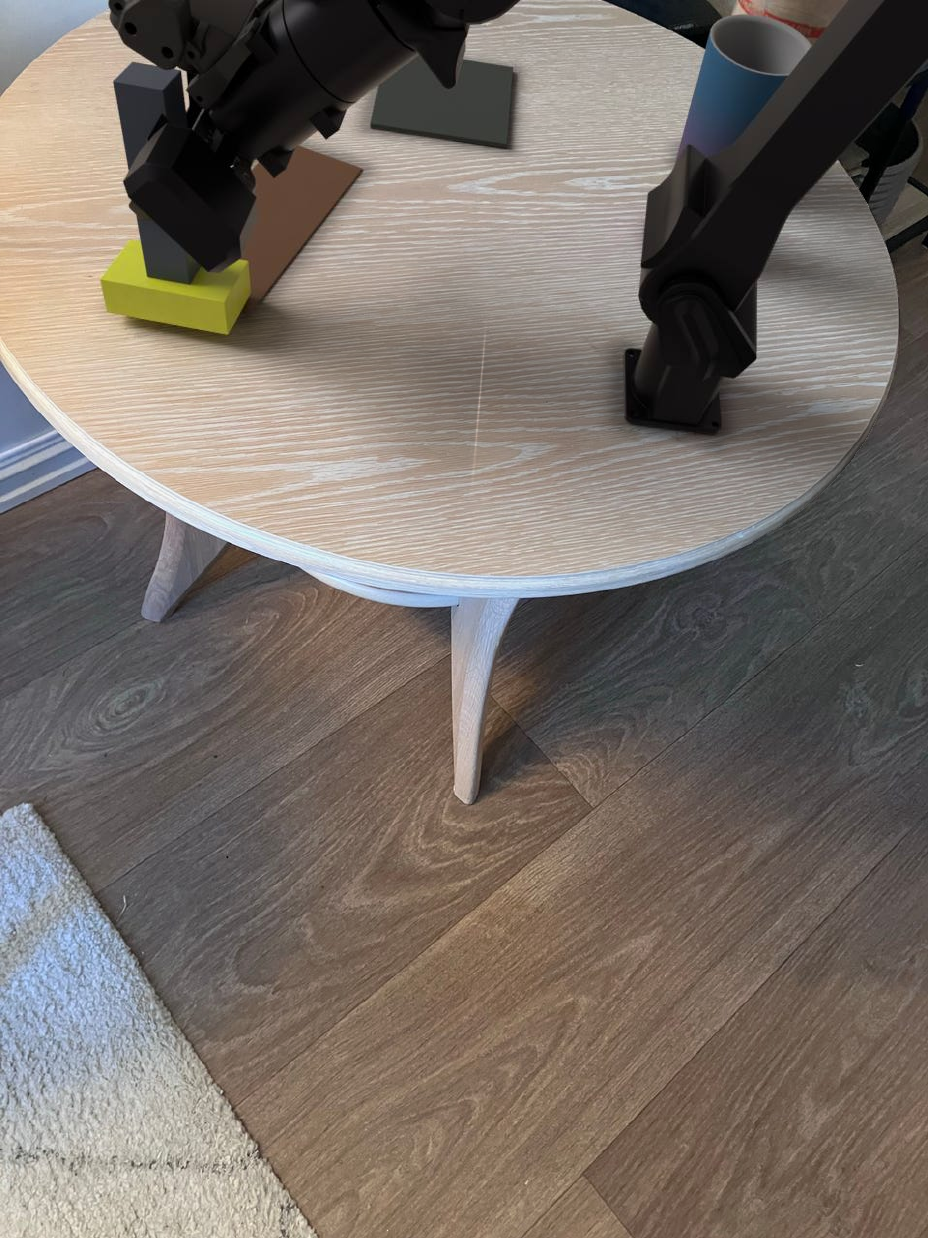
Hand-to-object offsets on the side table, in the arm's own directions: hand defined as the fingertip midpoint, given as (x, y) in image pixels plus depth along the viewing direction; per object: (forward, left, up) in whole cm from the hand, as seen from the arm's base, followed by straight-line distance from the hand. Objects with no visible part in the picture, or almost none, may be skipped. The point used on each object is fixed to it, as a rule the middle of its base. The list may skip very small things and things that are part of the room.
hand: (144, 194), depth 56 cm
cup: (+13, -37, -8) cm, 40 cm away
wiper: (-1, -1, -7) cm, 7 cm away
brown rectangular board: (+9, -5, -8) cm, 13 cm away
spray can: (+23, -41, -8) cm, 47 cm away
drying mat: (+27, -17, -8) cm, 33 cm away
